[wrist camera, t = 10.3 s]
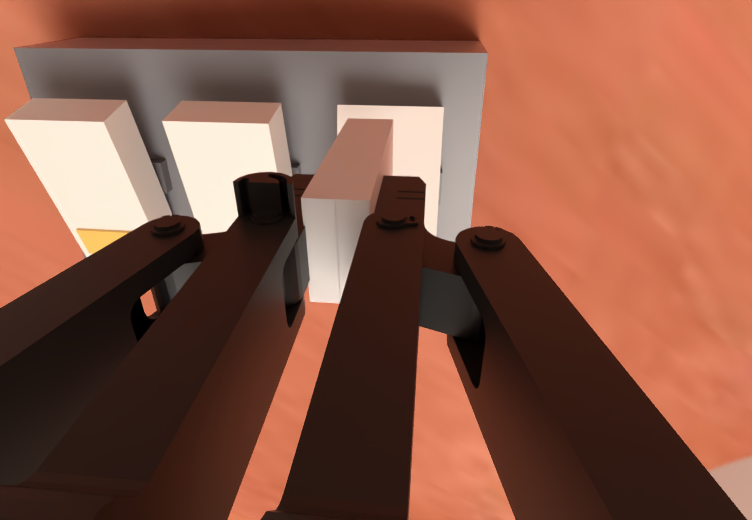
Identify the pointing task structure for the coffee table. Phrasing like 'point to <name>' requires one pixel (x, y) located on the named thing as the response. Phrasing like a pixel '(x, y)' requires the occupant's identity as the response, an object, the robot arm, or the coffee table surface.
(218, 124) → the rocker
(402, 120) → the block
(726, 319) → the coffee table surface
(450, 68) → the switch unit
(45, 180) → the rocker
